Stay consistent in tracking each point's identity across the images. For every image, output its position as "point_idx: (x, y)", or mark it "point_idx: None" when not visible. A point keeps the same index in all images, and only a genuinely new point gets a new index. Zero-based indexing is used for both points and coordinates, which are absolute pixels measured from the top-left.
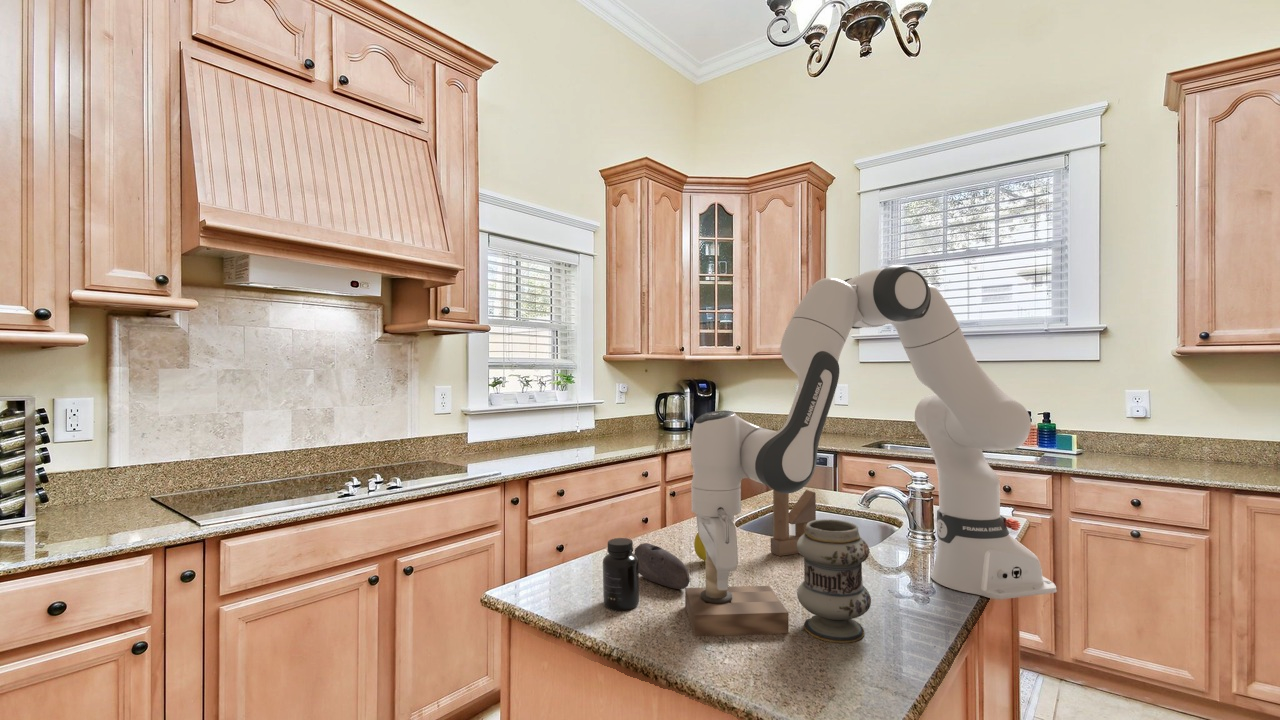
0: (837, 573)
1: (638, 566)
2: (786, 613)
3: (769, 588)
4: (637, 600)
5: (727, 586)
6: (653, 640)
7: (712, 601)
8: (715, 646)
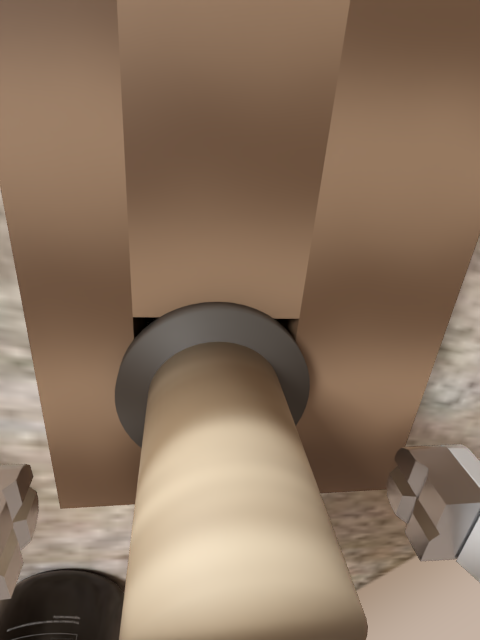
0: None
1: None
2: None
3: None
4: (86, 592)
5: (476, 458)
6: (345, 523)
7: (294, 422)
8: (446, 373)
